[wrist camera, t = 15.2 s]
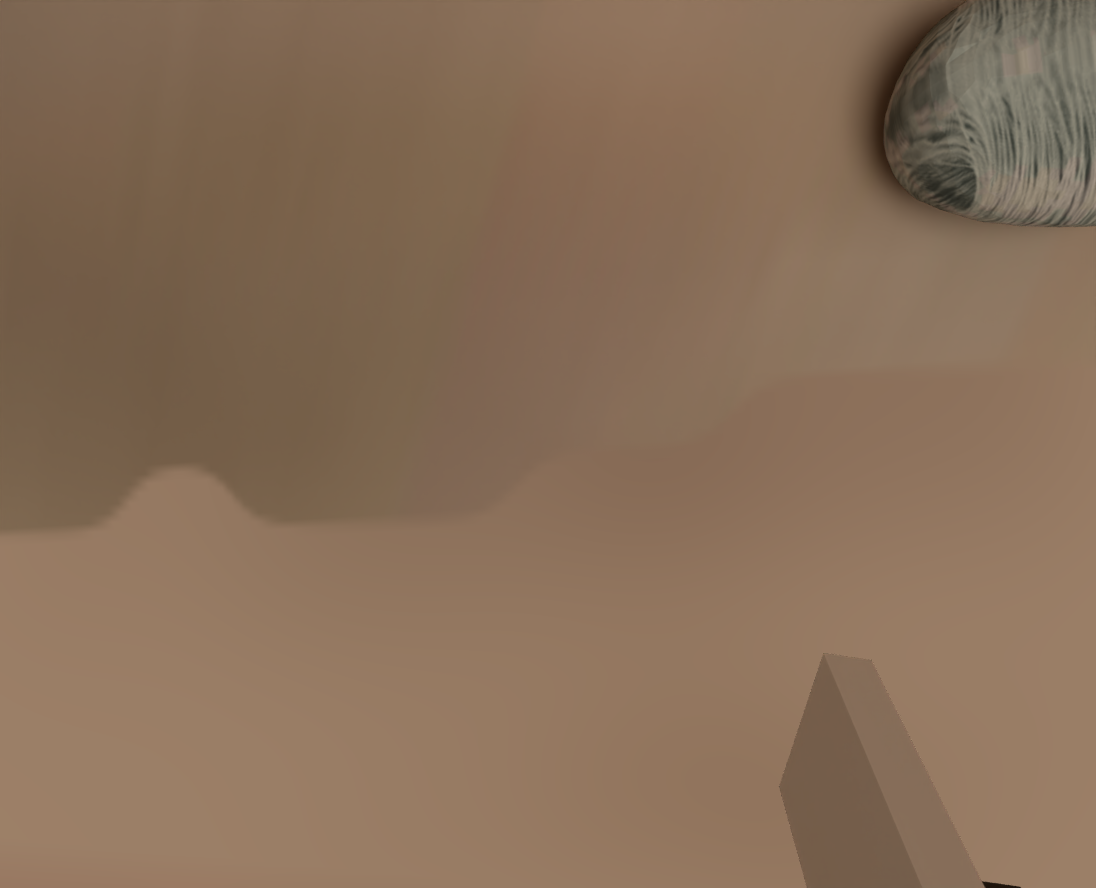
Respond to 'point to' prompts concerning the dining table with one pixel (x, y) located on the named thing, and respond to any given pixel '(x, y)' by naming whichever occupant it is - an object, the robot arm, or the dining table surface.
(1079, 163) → the grey green rounded lump
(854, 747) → the robot arm
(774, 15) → the dining table surface
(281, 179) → the dining table surface
